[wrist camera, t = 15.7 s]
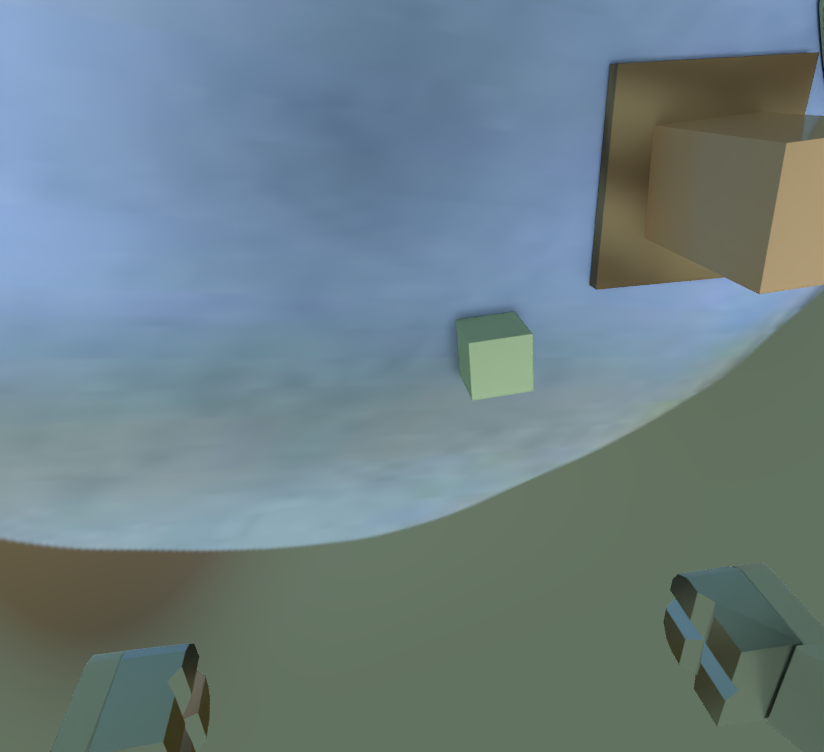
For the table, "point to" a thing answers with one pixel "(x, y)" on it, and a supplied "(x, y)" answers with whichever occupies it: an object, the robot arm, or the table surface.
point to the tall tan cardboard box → (742, 197)
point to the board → (632, 145)
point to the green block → (495, 355)
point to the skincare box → (822, 25)
